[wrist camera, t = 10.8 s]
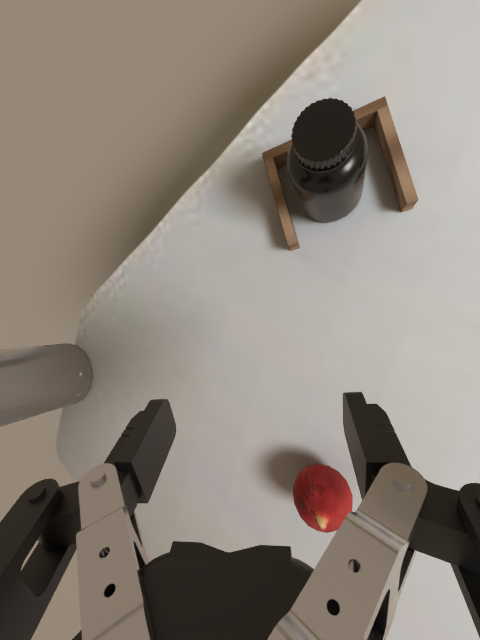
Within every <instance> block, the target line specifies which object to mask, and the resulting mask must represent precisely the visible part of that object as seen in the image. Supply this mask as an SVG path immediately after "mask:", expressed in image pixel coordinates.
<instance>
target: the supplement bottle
mask: <svg viewBox="0 0 480 640" xmlns="http://www.w3.org/2000/svg"><path fill="white" fill-rule="evenodd" d="M292 132H293V133H292V136H291V137H292V143H291V145H290V148H289V152H288V156H287V168H288V172H289V176H290V179H291V181H292V184H293V186H294V189H295V192H296V194H297V197H298V199H299V202H300V204H301V206H302V208H303V210H304V211H305V213H306V214H307V215H308V216H310V217H311V218H313V219H315V220H317V221H321V222H332V221H336V220H339V219H341V218H343V217H345V216H347V215H348V214H349V213H350V212H352V211H353V209H354V208H355V207H356V206H357V204H358V202H359V200H360V198H361V195H362V191H363V185H364V178H365V170H366V163H367V155H368V143H367V138H366V135H365V133H364V131H363V129H362V128H361V127H360V125H359V124H358V123H356V118H355V113H354V112H353V111H352V108H351V107H349V106H348V104H347V103H344V102H343V101H342V100H338V99H332V98H329V99H323V100H318V101H316V102H315V103H312V104H311V105H310V106H308V107H306V108H305V110H304V111H302V112H301V114H300V116H298V117H297V121H296V122H295V123H294V127H293V129H292Z"/></svg>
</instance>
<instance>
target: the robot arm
mask: <svg viewBox="0 0 480 640" xmlns="http://www.w3.org/2000/svg"><path fill="white" fill-rule="evenodd" d="M91 379H92V370H91V366H90V362H89V360H88V358H87V356H86V355H85V353H84V352H83V351H82V350H81V349H80V348H79V347H77V346H76V345H73V344H56V345H45V346H34V347H23V348H13V349H2V350H0V427H1V426H4V425H8V424H11V423H14V422H17V421H20V420H23V419H26V418H29V417H33V416H36V415H39V414H41V413H45V412H48V411H51V410H55V409H58V408H61V407H64V406H67V405H70V404H73V403H76V402H79V401H80V400H81V399H83V398H84V397H85V395H86V394H87V392H88V390H89V388H90V385H91ZM343 425H344V432H345V437H346V440H347V444H348V448H349V452H350V456H351V459H352V463H353V467H354V471H355V475H356V478H357V482H358V486H359V490H360V494H361V497H362V502H361V504H360V506H359V507H358V509H357V511H356V512H355V513H354V512H352V511H351V512H349V513H348V514H347V516H346V517H345V519H344V520H343V522H342V524H341V526H340V527H339V529H338V531H337V532H336V534H335V536H334V537H333V539H332V541H331V542H330V544H329V546H328V547H327V549H326V551H325V552H324V554H323V556H322V557H321V559H320V561H319V562H318V564H317V566H316V568H315V569H313V568H311V567H310V566H309V565H307V564H306V563H304V562H302V561H300V560H298V559H295V558H293V557H292V555H291V547H290V546H267V545H259V546H255V547H251V548H247V549H243V550H239V551H235V552H230V553H229V552H224V551H222V550H219V549H216V548H214V547H211V546H208V545H206V544H203V543H199V542H176V541H173V543H172V547H171V550H170V552H169V553H166V554H163V555H161V556H159V557H157V558H155V559H153V560H152V561H150V562H149V560H148V557H147V554H146V551H145V547H144V543H143V539H142V536H141V532H140V528H139V524H138V521H137V517H136V513H135V511H134V510H135V508H136V506H137V503H148V502H149V499H150V497H151V495H152V492H153V490H154V487H155V485H156V482H157V480H158V477H159V475H160V472H161V470H162V468H163V465H164V463H165V460H166V458H167V455H168V453H169V450H170V448H171V446H172V443H173V441H174V438H175V435H176V424H175V420H174V417H173V413H172V410H171V407H170V403H169V401H168V400H167V399H158V400H151V401H150V402H149V403H148V405H147V407H146V408H145V410H144V411H140V412H139V413H138V414H136V415H135V416H134V417H133V418H132V419H131V420H130V422H129V424H128V425H127V427H126V430H124V432H123V433H122V435H121V437H120V438H119V440H118V441H117V443H116V444H115V446H114V448H113V449H112V451H111V453H110V454H109V456H108V457H107V459H106V461H105V462H104V464H100V465H98V466H95V467H94V468H92V469H91V470H89V471H88V472H87V473H86V474H85V475H84V476H83V477H82V479H81V480H80V481H79V482H76V483H72V484H69V485H65V486H62V487H59V485H58V483H57V482H56V480H54V479H45V480H42V481H39V482H37V483H35V484H34V485H32V486H31V487H29V488H28V489H27V490H26V491H25V492H24V493H23V494H22V495H21V496H20V497H19V499H18V500H17V501H16V503H15V504H14V505H13V507H12V508H11V509H10V510H9V512H8V513H7V514H6V516H5V517H4V518H3V520H2V521H1V522H0V640H31V638H32V636H33V634H34V632H35V630H36V628H37V626H38V624H39V622H40V620H41V618H42V616H43V614H44V612H45V610H46V608H47V606H48V604H49V602H50V600H51V598H52V596H53V594H54V592H55V590H56V588H57V586H58V584H59V582H60V580H61V578H62V576H63V574H64V572H65V570H66V568H67V566H68V565H69V563H70V560H71V558H72V557H73V555H74V552H75V550H76V549H77V560H78V579H79V595H80V613H81V631H80V632H79V633H78V634H77V635H76V636H75V637H74V639H72V640H386V638H387V635H388V633H389V630H390V627H391V624H392V621H393V618H394V614H395V610H396V606H397V603H398V600H399V597H400V594H401V591H402V589H403V586H404V583H405V581H406V578H407V575H408V573H409V570H410V567H411V565H412V562H413V559H414V557H415V554H416V551H419V552H421V553H424V554H427V555H430V556H432V557H435V558H438V559H441V560H443V561H446V562H449V563H451V566H452V568H453V571H454V573H455V576H456V578H457V581H458V584H459V586H460V589H461V591H462V594H463V596H464V599H465V601H466V604H467V606H468V609H469V611H470V614H471V616H472V619H473V622H474V624H475V627H476V629H477V632H478V634H479V637H480V484H479V483H470V484H466V485H464V486H463V487H462V488H461V489H460V491H457V490H453V489H449V488H446V487H442V486H439V485H435V484H433V483H431V482H429V481H427V480H425V479H424V478H423V476H422V475H421V474H420V473H419V472H418V471H416V470H415V469H414V468H412V467H411V465H410V463H409V461H408V459H407V456H406V454H405V452H404V450H403V448H402V446H401V444H400V441H399V439H398V437H397V435H396V433H395V431H394V429H393V426H392V424H391V422H390V420H389V418H388V416H387V414H386V412H385V411H384V410H383V409H382V408H381V407H379V406H378V405H377V404H367V403H366V401H365V398H364V396H363V394H362V392H348V393H343ZM37 540H38V541H39V543H38V545H37V547H36V548H35V550H34V551H33V553H32V554H31V556H30V558H29V559H28V561H27V563H26V564H25V566H24V567H23V569H22V571H21V567H22V564H23V562H24V560H25V558H26V557H27V555H28V553H29V552H30V550H31V548H32V547H33V546H34V544H35V542H36V541H37Z"/></svg>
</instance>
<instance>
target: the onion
mask: <svg viewBox="0 0 480 640" xmlns="http://www.w3.org/2000/svg"><path fill="white" fill-rule="evenodd" d="M293 495H294V503H295V506H296V508H297V510H298V513H299V515H300V517H301V518H302V519H303V520H304V521H305V522H306V524H307V525H308V526H310V527H312V528H314V529H316V530H317V531H322V532H326V533H328V532H332V531H335V530H338V529H339V527H340V526H341V524H342V522H343V520H344V519H345V517H346V516H347V514H348V513H349V512H351V511H352V493H351V491H350V488H349V485H348V483H347V481H346V479H345V478H344V477H343V476H342V475H341V474H340V473H339V472H338V471H337V470H335V469H333V468H331V467H329V466H325V465H320V464H318V465H312V466H308V467H307V468H305V469H304V470H302V471H301V472H300V473H299V475H298V477H297V479H296V481H295V484H294V486H293Z"/></svg>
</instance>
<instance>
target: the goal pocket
mask: <svg viewBox="0 0 480 640" xmlns="http://www.w3.org/2000/svg"><path fill="white" fill-rule="evenodd" d="M353 112H354V113H355V118H356V123H358V124H359V125H360V127H361V128H362V129H363V130H366V129H368V128H370V127H372V126H375V130H376V133H377V136H378V139H379V142H380V145H381V148H382V152H383V155H384V158H385V161H386V164H387V167H388V171H389V174H390V177H391V180H392V183H393V186H394V189H395V193H396V196H397V199H398V202H399V205H400V208H401V212H404V211H407V210H410V209H412V208H413V207H414V205H415V204H416V202H417V201H418V198H417V194H416V191H415V188H414V185H413V182H412V179H411V176H410V173H409V170H408V167H407V163H406V160H405V157H404V154H403V151H402V148H401V145H400V142H399V139H398V136H397V133H396V129H395V126H394V123H393V120H392V117H391V114H390V111H389V108H388V105H387V102H386V98H385V96H384V97H382V98H380V99H378V100H376V101H374V102H372V103H369V104H367V105H365V106H363V107H361V108H359V109H356V110H354V111H353ZM291 143H292V140H290V141H288V142H286V143H283V144H281V145H279V146H277V147H275V148H273V149H270V150H268V151H266V152H264V153H262V155H263V159H264V162H265V166H266V169H267V173H268V176H269V180H270V183H271V187H272V191H273V194H274V198H275V201H276V205H277V208H278V212H279V215H280V219H281V222H282V226H283V230H284V233H285V237H286V240H287V244H288V246H289V248H290V249H291V251H292V250H295V249H298V248H300V247H299V243H298V240H297V236H296V233H295V229H294V226H293V222H292V219H291V215H290V212H289V208H288V205H287V201H286V198H285V194H284V191H283V187H282V184H281V180H280V177H279V173H278V170H277V168H279V167H282V166H284V165H286V164H287V156H288V152H289V148H290V145H291Z"/></svg>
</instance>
